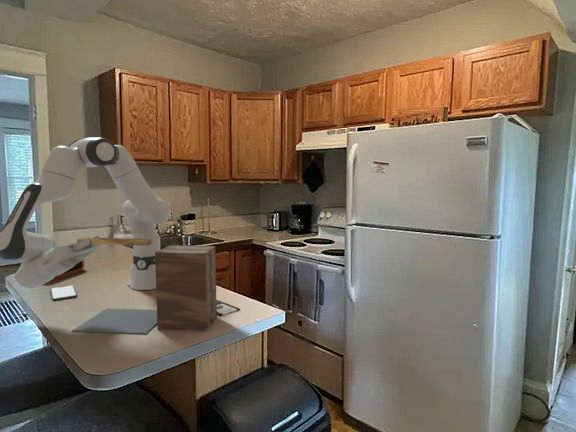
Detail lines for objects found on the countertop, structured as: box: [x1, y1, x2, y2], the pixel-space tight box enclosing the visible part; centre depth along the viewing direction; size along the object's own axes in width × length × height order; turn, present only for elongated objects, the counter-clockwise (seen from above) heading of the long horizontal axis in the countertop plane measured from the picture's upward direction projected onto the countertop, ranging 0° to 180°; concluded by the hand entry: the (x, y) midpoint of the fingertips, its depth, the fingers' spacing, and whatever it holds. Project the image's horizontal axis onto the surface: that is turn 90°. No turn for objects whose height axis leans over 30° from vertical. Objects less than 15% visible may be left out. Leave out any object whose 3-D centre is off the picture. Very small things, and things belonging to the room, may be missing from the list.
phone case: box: [49, 284, 78, 302], centre depth 156 cm, size 9×2×16 cm
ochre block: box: [76, 236, 153, 246], centre depth 125 cm, size 4×24×2 cm, turn 86°
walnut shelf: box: [155, 245, 218, 332], centre depth 125 cm, size 12×16×25 cm
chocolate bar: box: [216, 299, 241, 317], centre depth 142 cm, size 9×1×18 cm
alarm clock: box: [49, 259, 85, 282], centre depth 186 cm, size 24×8×11 cm, turn 170°
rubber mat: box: [71, 308, 157, 335], centre depth 128 cm, size 20×24×1 cm
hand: (94, 239), depth 126 cm, fingers closed on ochre block, 4 cm apart
